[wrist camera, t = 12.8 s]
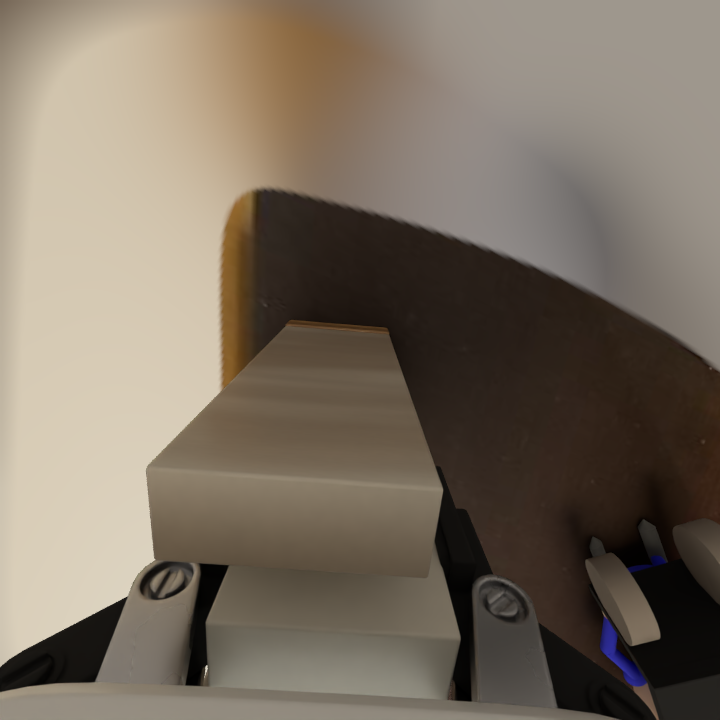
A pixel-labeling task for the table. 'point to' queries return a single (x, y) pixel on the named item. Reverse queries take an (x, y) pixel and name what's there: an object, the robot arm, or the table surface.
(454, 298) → the table surface
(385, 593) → the beige rectangular block
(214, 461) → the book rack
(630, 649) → the figurine character
